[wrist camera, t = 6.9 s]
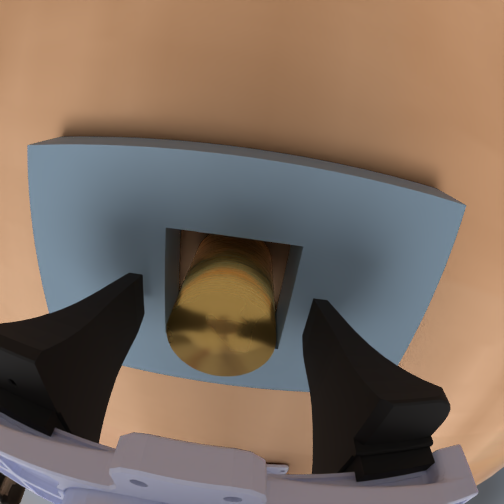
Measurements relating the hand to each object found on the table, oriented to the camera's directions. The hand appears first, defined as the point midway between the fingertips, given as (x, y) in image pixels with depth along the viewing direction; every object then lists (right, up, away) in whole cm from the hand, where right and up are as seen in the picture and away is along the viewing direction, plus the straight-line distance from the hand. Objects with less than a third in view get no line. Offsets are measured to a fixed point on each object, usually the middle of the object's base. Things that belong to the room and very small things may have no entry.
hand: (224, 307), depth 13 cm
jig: (0, +2, +4) cm, 4 cm away
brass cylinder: (0, +2, +4) cm, 4 cm away
